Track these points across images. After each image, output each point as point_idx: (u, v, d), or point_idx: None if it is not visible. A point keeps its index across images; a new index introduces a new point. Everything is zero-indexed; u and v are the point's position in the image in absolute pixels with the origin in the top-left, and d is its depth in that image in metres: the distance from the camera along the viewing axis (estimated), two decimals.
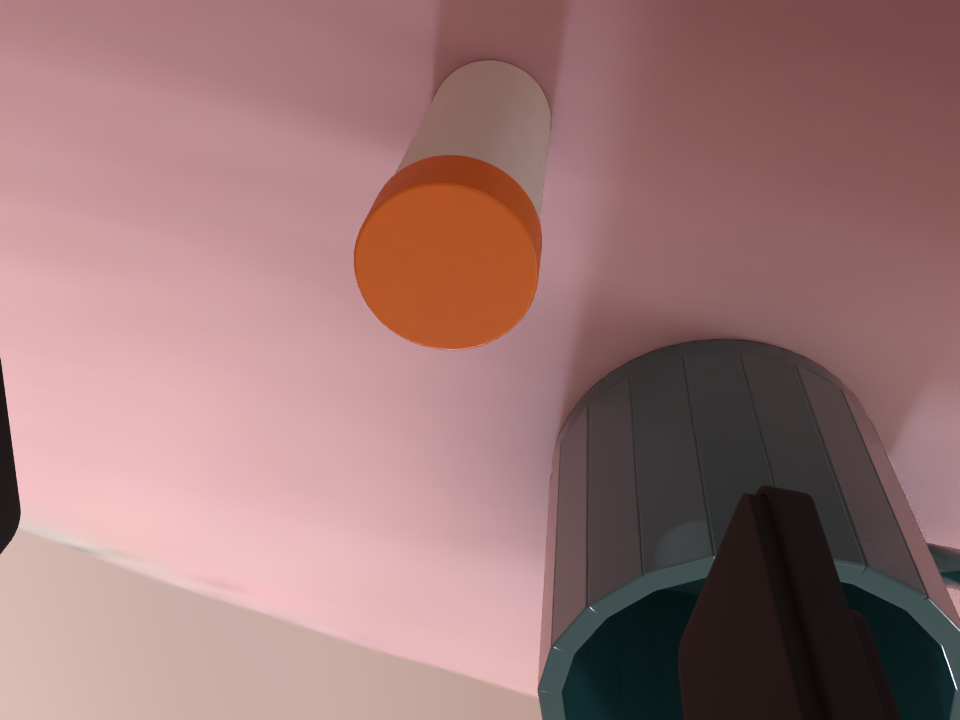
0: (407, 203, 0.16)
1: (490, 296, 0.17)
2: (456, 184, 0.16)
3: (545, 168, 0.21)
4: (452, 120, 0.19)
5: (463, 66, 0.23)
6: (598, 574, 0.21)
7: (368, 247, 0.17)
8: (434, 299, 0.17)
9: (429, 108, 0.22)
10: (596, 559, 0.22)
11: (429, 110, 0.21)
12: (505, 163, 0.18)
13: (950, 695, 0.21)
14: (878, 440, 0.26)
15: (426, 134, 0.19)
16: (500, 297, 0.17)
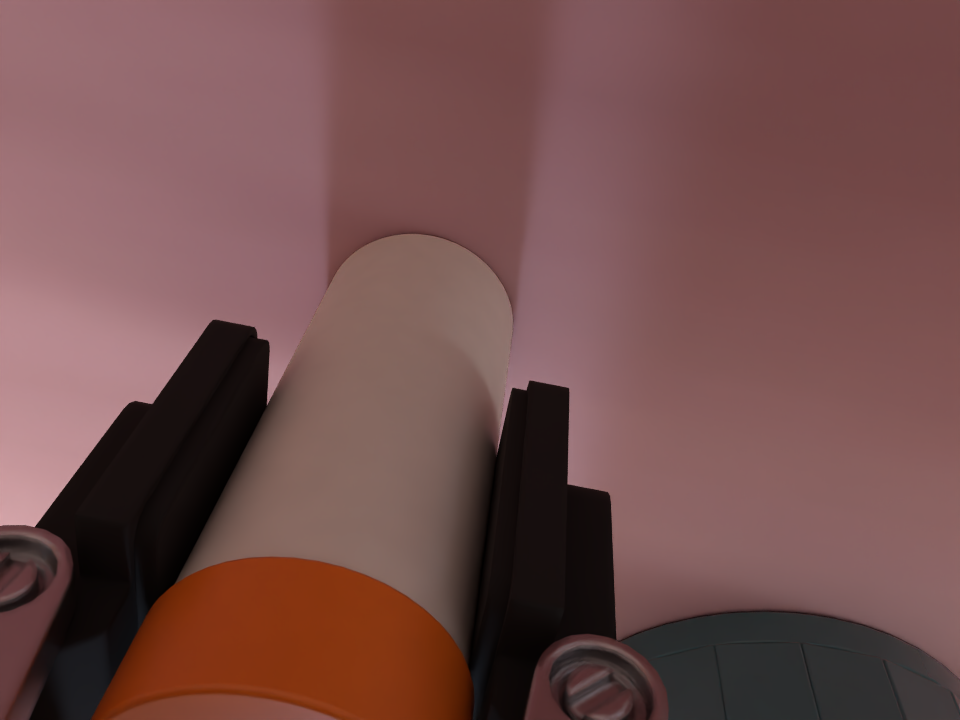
0: (165, 717, 0.07)
1: None
2: (266, 693, 0.07)
3: (497, 447, 0.12)
4: (318, 411, 0.11)
5: (372, 243, 0.15)
6: None
7: None
8: None
9: (306, 333, 0.13)
10: None
11: (302, 344, 0.13)
12: (402, 542, 0.09)
13: None
14: None
15: (269, 441, 0.10)
16: None
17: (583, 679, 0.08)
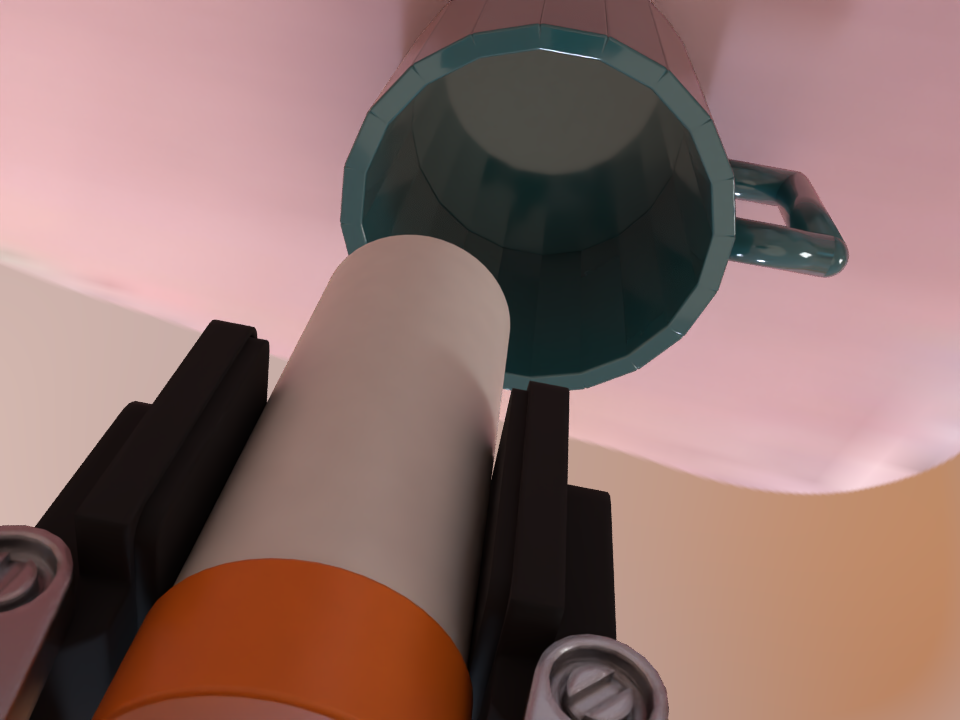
0: (165, 718, 0.07)
1: None
2: (266, 695, 0.07)
3: (494, 447, 0.13)
4: (316, 412, 0.11)
5: (369, 244, 0.15)
6: (383, 91, 0.23)
7: None
8: None
9: (303, 335, 0.13)
10: (386, 87, 0.24)
11: (299, 345, 0.13)
12: (401, 543, 0.09)
13: (709, 197, 0.23)
14: (680, 42, 0.28)
15: (267, 442, 0.10)
16: None
17: (583, 679, 0.08)
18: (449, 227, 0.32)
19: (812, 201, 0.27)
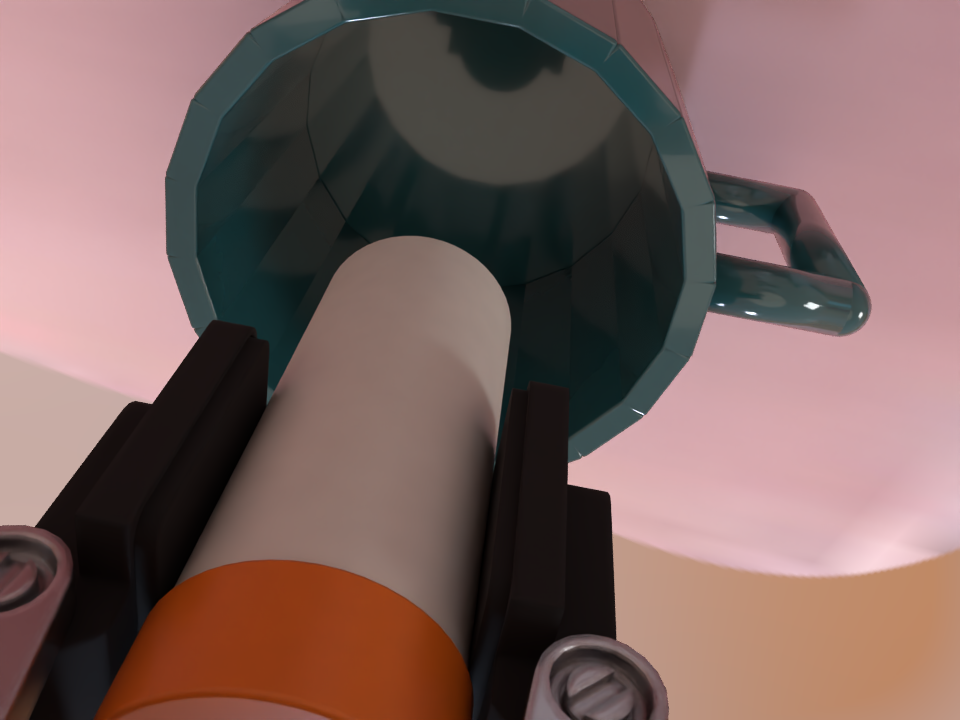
0: None
1: None
2: (266, 696, 0.07)
3: (495, 449, 0.13)
4: (317, 413, 0.11)
5: (370, 245, 0.15)
6: None
7: None
8: None
9: (304, 336, 0.13)
10: None
11: (300, 346, 0.13)
12: (401, 544, 0.09)
13: (680, 229, 0.16)
14: (649, 17, 0.21)
15: (268, 443, 0.10)
16: None
17: (583, 679, 0.08)
18: None
19: (820, 230, 0.20)
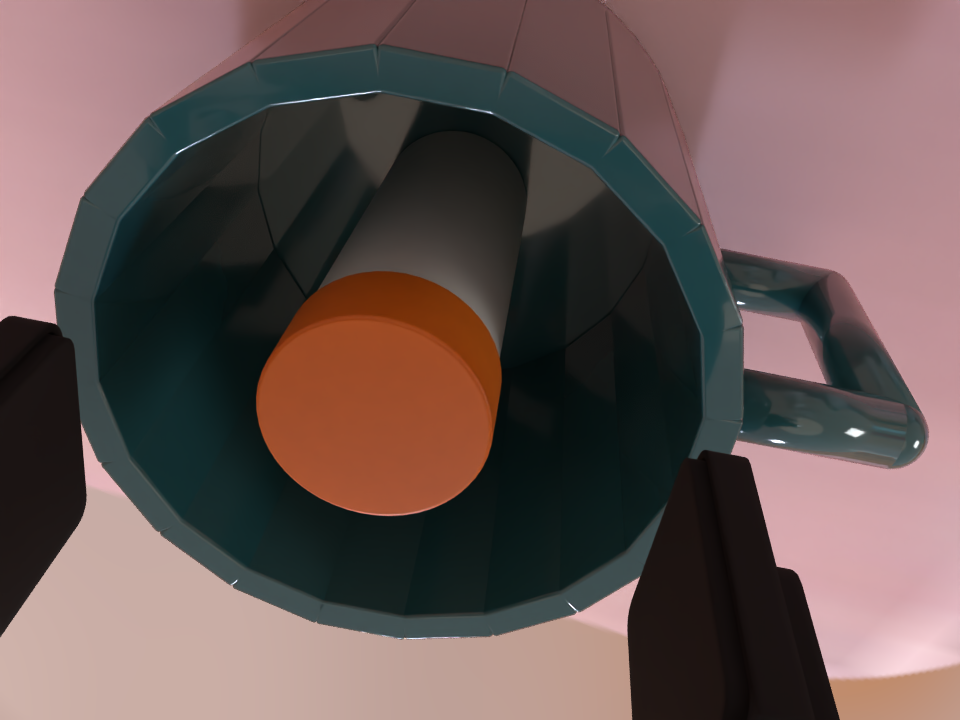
0: (320, 340, 0.12)
1: (432, 454, 0.13)
2: (383, 318, 0.12)
3: (514, 266, 0.17)
4: (395, 215, 0.16)
5: (422, 137, 0.20)
6: None
7: (273, 392, 0.13)
8: (361, 455, 0.13)
9: (377, 191, 0.18)
10: None
11: (376, 195, 0.18)
12: (456, 277, 0.14)
13: (699, 355, 0.13)
14: (655, 74, 0.18)
15: (363, 233, 0.15)
16: (444, 455, 0.13)
17: None
18: None
19: (860, 329, 0.17)
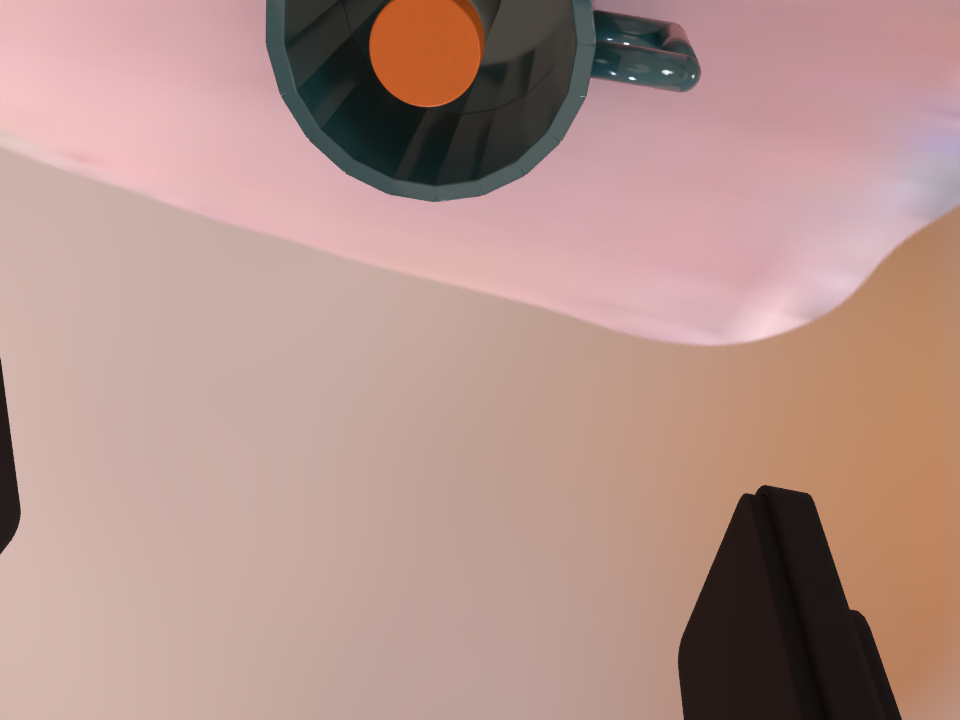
0: (400, 6, 0.27)
1: (452, 67, 0.28)
2: None
3: (492, 13, 0.32)
4: None
5: None
6: None
7: (377, 37, 0.28)
8: (418, 70, 0.28)
9: None
10: None
11: None
12: None
13: (572, 11, 0.28)
14: None
15: None
16: (458, 67, 0.28)
17: None
18: (377, 86, 0.36)
19: (678, 37, 0.32)
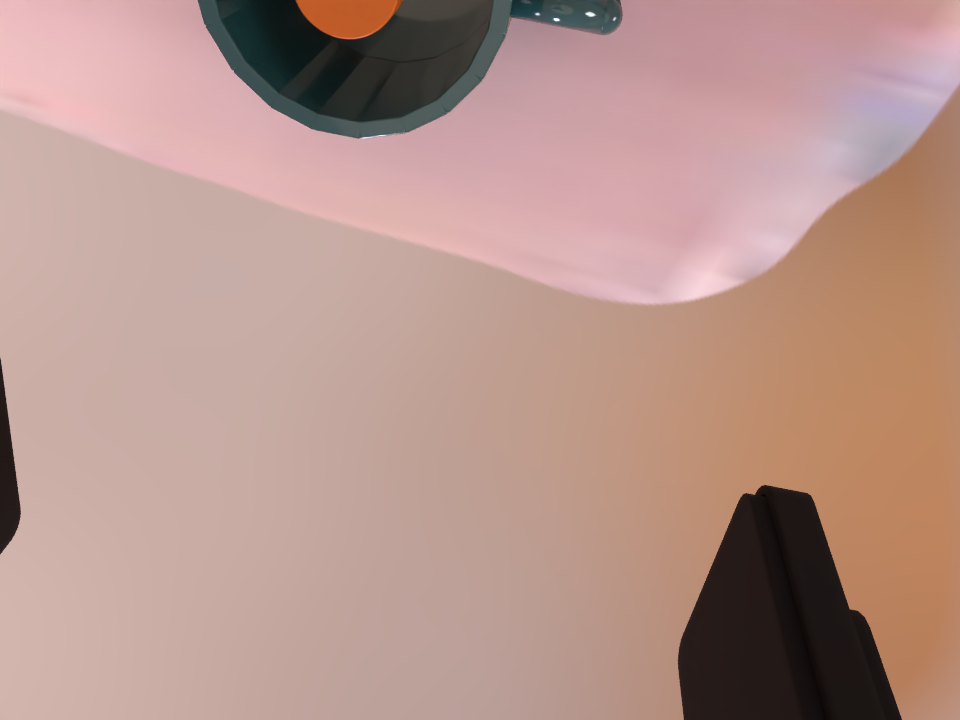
0: None
1: None
2: None
3: None
4: None
5: None
6: None
7: None
8: (339, 1, 0.28)
9: None
10: None
11: None
12: None
13: None
14: None
15: None
16: None
17: None
18: (314, 30, 0.37)
19: None
